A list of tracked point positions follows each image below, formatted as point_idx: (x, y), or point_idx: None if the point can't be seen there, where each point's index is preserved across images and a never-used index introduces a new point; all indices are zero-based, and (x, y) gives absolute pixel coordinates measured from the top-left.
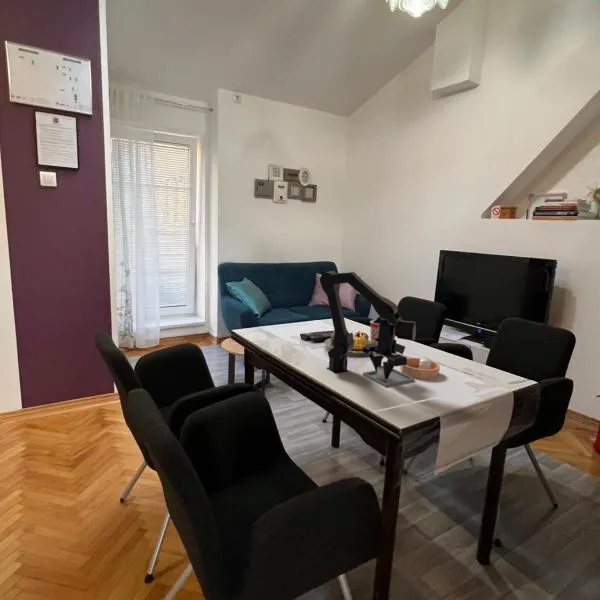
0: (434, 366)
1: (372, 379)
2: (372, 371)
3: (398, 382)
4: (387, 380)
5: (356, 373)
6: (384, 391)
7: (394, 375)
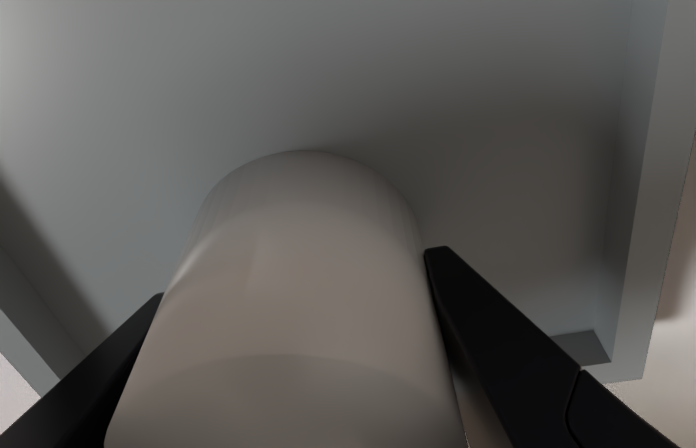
0: None
1: None
2: (3, 328)
3: (692, 95)
4: (405, 199)
5: (8, 426)
6: (692, 368)
7: None
